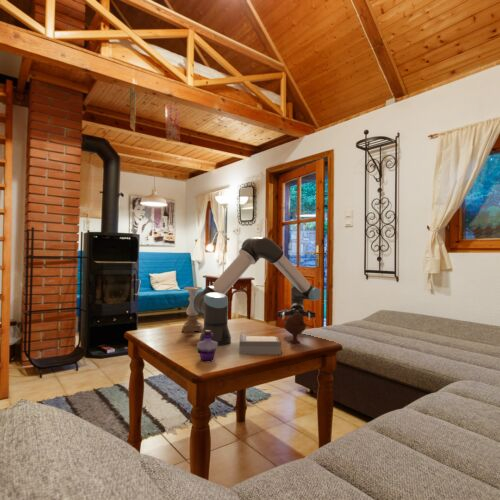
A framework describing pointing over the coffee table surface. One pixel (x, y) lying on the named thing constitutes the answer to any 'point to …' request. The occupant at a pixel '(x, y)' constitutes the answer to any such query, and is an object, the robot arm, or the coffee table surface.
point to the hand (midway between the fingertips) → (296, 317)
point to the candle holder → (192, 312)
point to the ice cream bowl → (295, 326)
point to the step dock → (259, 345)
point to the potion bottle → (207, 346)
